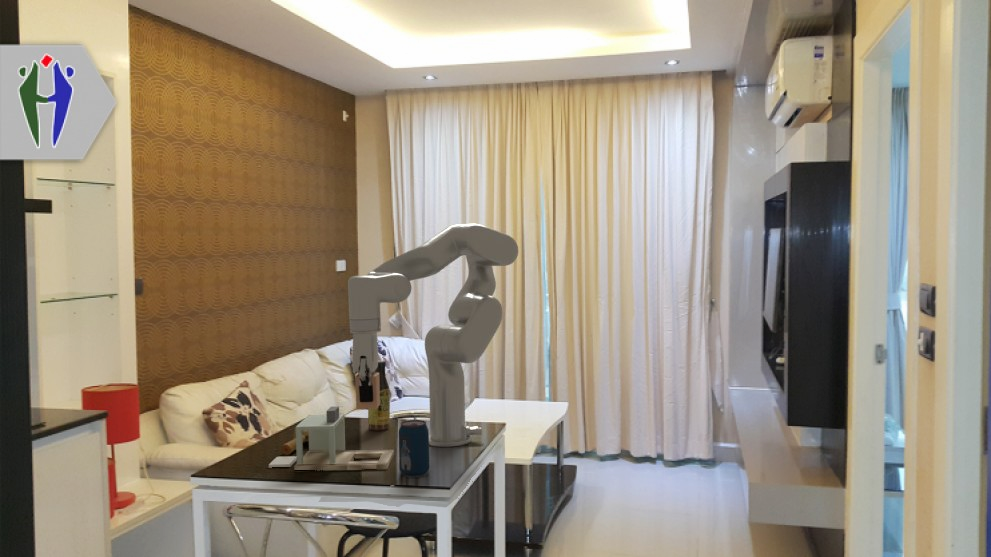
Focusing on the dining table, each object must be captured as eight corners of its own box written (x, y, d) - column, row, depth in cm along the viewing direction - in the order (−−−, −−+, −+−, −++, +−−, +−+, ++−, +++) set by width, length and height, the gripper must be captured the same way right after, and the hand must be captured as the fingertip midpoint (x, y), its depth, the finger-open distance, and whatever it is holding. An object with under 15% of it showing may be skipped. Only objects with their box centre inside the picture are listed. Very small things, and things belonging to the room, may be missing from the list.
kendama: (302, 461, 192) (337, 434, 209) (296, 438, 191) (331, 413, 208) (277, 464, 194) (313, 438, 211) (270, 441, 193) (307, 416, 210)
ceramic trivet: (297, 459, 188) (296, 456, 188) (289, 467, 181) (289, 464, 181) (277, 459, 188) (277, 456, 188) (268, 467, 181) (268, 464, 181)
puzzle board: (394, 454, 191) (394, 449, 191) (386, 469, 178) (386, 464, 178) (307, 456, 191) (307, 451, 191) (294, 471, 178) (294, 465, 178)
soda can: (430, 469, 178) (429, 419, 178) (428, 478, 171) (427, 425, 171) (401, 469, 178) (400, 419, 177) (398, 478, 171) (396, 426, 170)
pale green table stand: (345, 449, 191) (344, 403, 191) (334, 463, 178) (333, 414, 178) (310, 449, 191) (308, 403, 191) (296, 464, 178) (295, 415, 178)
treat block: (379, 404, 187) (379, 372, 187) (376, 408, 182) (376, 376, 182) (359, 404, 187) (359, 372, 187) (356, 409, 182) (355, 376, 182)
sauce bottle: (380, 432, 215) (378, 363, 214) (363, 430, 218) (362, 362, 218) (395, 427, 220) (393, 360, 220) (379, 425, 224) (377, 359, 223)
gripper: (356, 322, 192) (359, 392, 193) (343, 330, 175) (346, 407, 176) (385, 321, 192) (388, 391, 193) (375, 329, 175) (378, 406, 176)
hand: (368, 398), depth 185 cm, fingers closed on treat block, 5 cm apart
